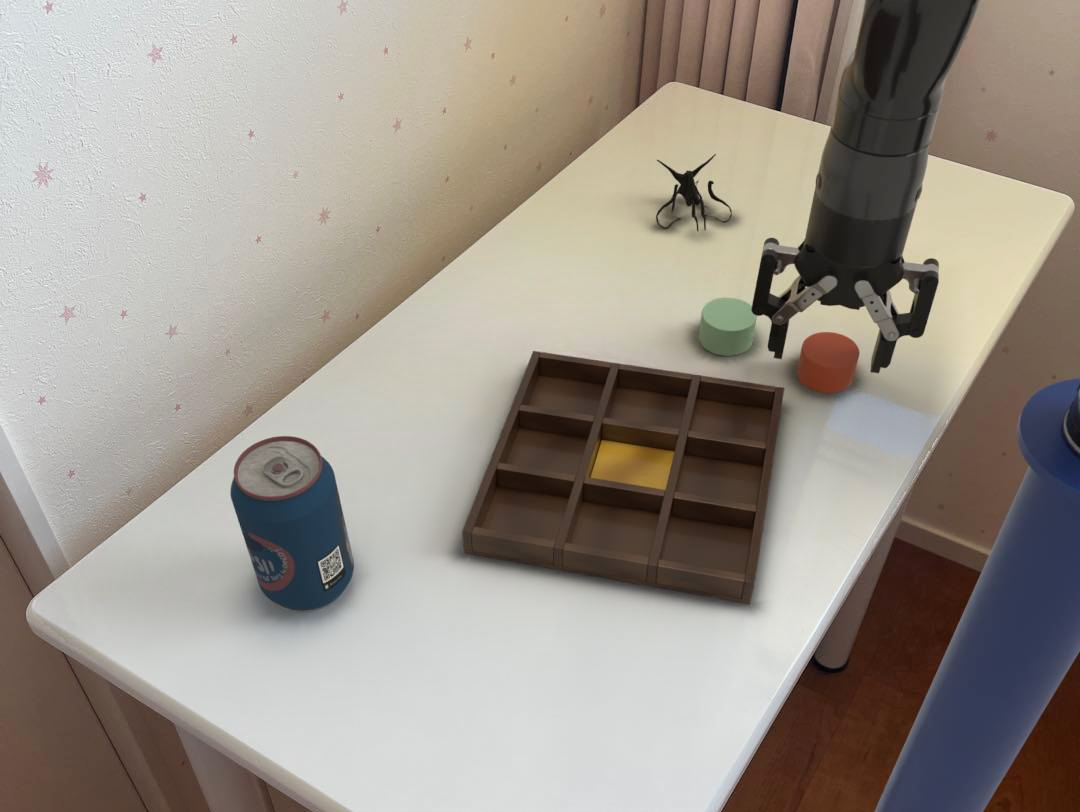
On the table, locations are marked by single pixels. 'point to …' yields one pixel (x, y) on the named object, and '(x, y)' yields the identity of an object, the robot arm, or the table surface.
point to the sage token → (727, 326)
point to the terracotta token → (827, 362)
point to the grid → (631, 476)
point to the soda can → (292, 522)
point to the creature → (690, 193)
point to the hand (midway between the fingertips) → (826, 359)
